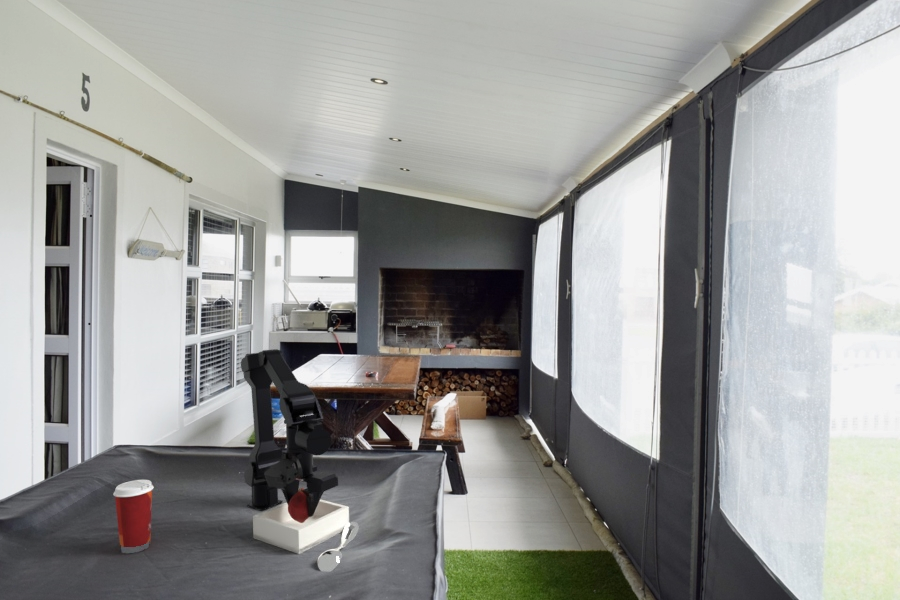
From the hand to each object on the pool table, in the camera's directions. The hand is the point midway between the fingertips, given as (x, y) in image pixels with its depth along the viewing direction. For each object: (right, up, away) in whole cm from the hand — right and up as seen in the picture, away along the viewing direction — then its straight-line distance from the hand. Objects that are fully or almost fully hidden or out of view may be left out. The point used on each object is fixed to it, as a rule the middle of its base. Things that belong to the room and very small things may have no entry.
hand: (301, 513), depth 128 cm
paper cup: (-35, -6, -6) cm, 36 cm away
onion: (0, -2, 0) cm, 2 cm away
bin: (0, -4, 0) cm, 4 cm away
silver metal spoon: (+11, -5, -8) cm, 14 cm away
